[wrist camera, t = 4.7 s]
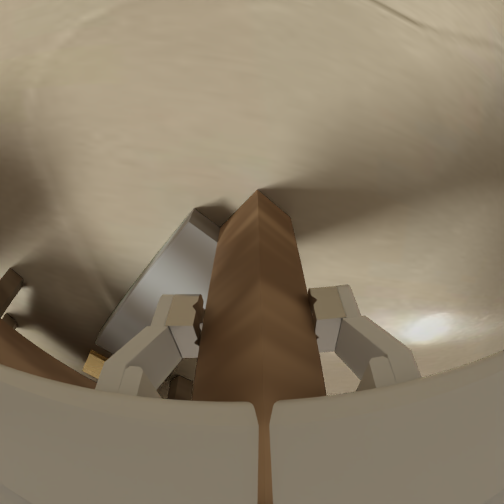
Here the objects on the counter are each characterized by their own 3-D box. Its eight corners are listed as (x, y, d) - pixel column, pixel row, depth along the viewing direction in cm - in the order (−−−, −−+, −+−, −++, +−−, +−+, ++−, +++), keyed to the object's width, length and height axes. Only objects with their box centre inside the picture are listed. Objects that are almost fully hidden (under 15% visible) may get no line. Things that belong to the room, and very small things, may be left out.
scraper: (230, 167, 14) (168, 531, 2) (312, 237, 16) (376, 515, 4) (100, 330, 21) (49, 481, 10) (159, 362, 23) (131, 510, 12)
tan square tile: (124, 383, 27) (122, 390, 27) (85, 363, 26) (82, 370, 25) (137, 368, 25) (135, 376, 24) (92, 345, 23) (89, 353, 23)
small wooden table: (149, 406, 29) (136, 475, 21) (5, 319, 22) (-31, 385, 14) (193, 381, 25) (181, 473, 17) (10, 267, 18) (-48, 349, 10)
